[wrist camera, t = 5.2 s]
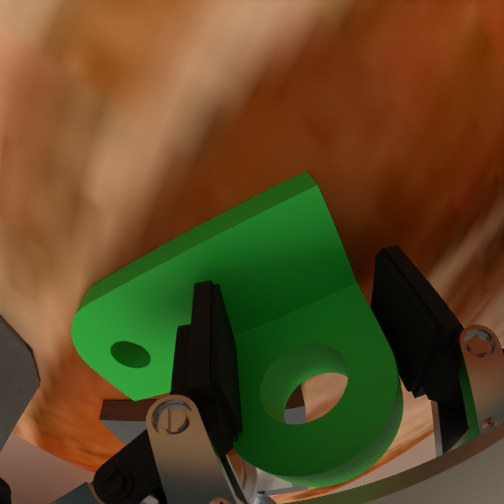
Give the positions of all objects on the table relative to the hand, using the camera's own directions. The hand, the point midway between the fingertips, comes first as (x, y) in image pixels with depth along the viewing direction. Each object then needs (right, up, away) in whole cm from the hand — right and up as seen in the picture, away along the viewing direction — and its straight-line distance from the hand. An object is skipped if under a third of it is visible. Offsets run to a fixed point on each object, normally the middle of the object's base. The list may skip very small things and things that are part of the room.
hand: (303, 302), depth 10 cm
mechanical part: (-4, 0, +3) cm, 5 cm away
